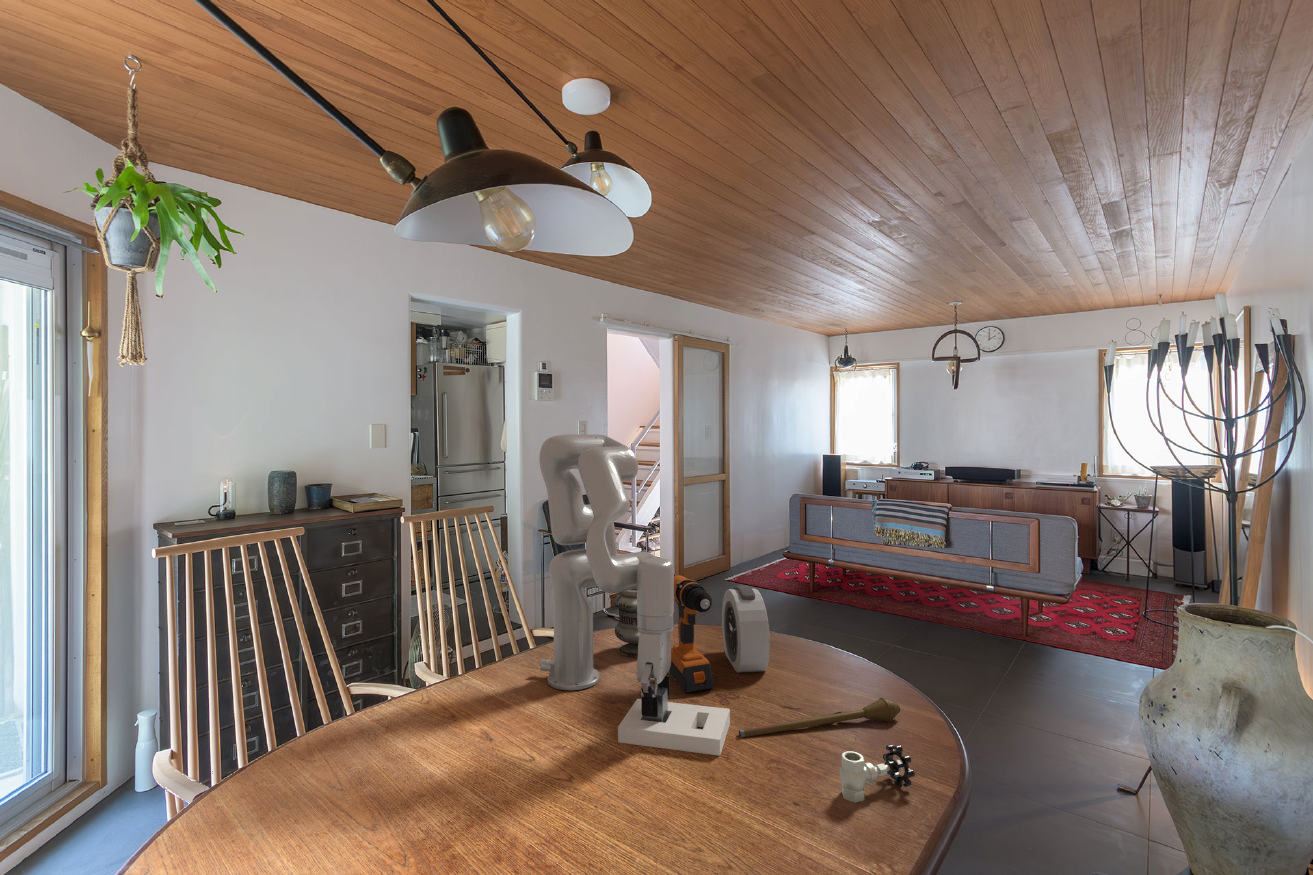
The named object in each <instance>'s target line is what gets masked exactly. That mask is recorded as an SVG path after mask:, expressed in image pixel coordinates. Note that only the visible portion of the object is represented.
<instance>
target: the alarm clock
mask: <svg viewBox="0 0 1313 875" xmlns="http://www.w3.org/2000/svg"><path fill="white" fill-rule="evenodd" d="M764 601H765V600H764V599H763V597H762V594H761V593H760V591H759V590H758V589H756V588H752V587H751V586H750V585H747V584H746V585H734V586H733V588H729V589H726V590H725V593H724V595H723V598H722V607H721V630H722V642H723V646H724V648H723V649H724V655H725V656H726V657H727V659H728V660H729V662H730V664H731V665H732V667H733V669H734V670H735V672H736V673H737V674H738V673H752V672H753V673H754V672H766V671H767V669H768V665H769V662H770V655H771V654H770V653H771V652H770V651H771V640H770V626H769V625H770V624H769V619H768V613H767V609H766V608H767V607H766V605H765V602H764Z"/></svg>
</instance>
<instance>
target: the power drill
mask: <svg viewBox="0 0 1313 875" xmlns="http://www.w3.org/2000/svg"><path fill="white" fill-rule="evenodd" d="M674 602H676V604H677V607H678V627H677V628H678V644H674V645H673V647H671V666H670V675H669V676H670V677H671V678H672V679H673V680H674V681H675V683H676V684H677V685H678V687H679V688H680V689H681V691H682V692H683V693H691V692H696V691H703V690H708V689H713V687H714V677H713V673H712V668H711V663H710V661H709V660H708V658H707V657H705V655H704V654H702V653H701V652H700V651H699V649H697V647H696V646H695V645H694V640H695V625H696V623H697V619H696V615H697V614H699V613H706V612H708V611H710V609H711V608H712V605H713V598H712V597H711V595H710V593H708V592H707V590H706V589H705V588H704V587H703V586H702V585H701V584H700V583H699V582H698V581H697V580H695V579H689V578H687V577H685V576H683V575H679V574H678V575H674Z"/></svg>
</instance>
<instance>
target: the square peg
mask: <svg viewBox="0 0 1313 875" xmlns="http://www.w3.org/2000/svg"><path fill="white" fill-rule="evenodd" d="M651 687H652V690H653V686H651ZM656 696H658V716H657V717H648V716H644V720H646V721H655V722H663V723H666V721H667V719H668V702H669V700H668V697H669V696H668V695H667V688H660V687H657V693H656Z"/></svg>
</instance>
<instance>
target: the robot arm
mask: <svg viewBox="0 0 1313 875" xmlns="http://www.w3.org/2000/svg"><path fill="white" fill-rule="evenodd" d="M538 463H539V468H540V472H541V476H542V478H543V481H544V485H545V488H546V491H547V492H546V493H547V499H548V500H547V502H548V511H549V518H550V521H549V522H550V528H551V535H552V539H553V540H554V542H555V543H556V544H557V545H560V546H573V545H581V544H585V548H580V549H573V550H567V551H563V552H561V553H558V554H556V555H555V556H554V557H552V559H551V560H550V563H549V565H548V575H549V580H550V586H551V591H552V592H551V593H552V601H553V604H552V605H553V659H552V660H550V659H546V658H545V659H543V658H541V659H540V661H539V669H540V671H542V672H546V671H547V672H549V674H548V676H547V683H548V686H550V687H552V688H554V689H556V690H561V691H579V690H584V689H585V690H586V689H588V688H591V687H593V686H595V685H597V684H598V682H599V681H600V680H601V678H600V677H601V675H600V672H599V671H598V670H597V669H596V668H594V611H593V610H594V608H593V604H592V602H591V600H590V599H589V597H588V596H587V595H586V593H585V590H586V589H589V588H593V587H598V589H600V590H601V591H602V592H604V593H606V594H615V593H620V592H622V591H627V590H632V589H637V629H638V630H639V631H640V634H639V643H638V657H637V662H636V663H637V664H636V666H637V668H636V680H637V682H638V683H640V684H641V685H640V686H641V688H640V691H641V694H640V696H641V698H640V699H641V704H642V715H643V716H648V717H657V716H658V696H656V693H657V687H660V688H667V695H668V697H670V694H671V675H670V666H671V648H672V637H671V634H672V633H671V632H672V631H673V630H674V629H675V597H674V576H675V567H674V564H673V562H672V561H670V560H669V559H666V558H664V557H663V558H662V557H657V556H656V555H654V554H653V553H650V552H648V551H636V552H630V553H629V552H627V553H622V554H621V553H620V554H618V548H617V538H616V530H615V529H616V528H615V522H616V521H618V520H619V519H620V518H623V516H625V515H626V514H627V513H628V512H629V510H630V509H631V502H630V500H629V496H628V495H627V491H626V488H625V486H624V482H625V483H626V482H630V481H632V480H633V479H635V478H636V477H637V475H638V471H639V462H638V459H637V456H636V454H635V452H634V451H633V450H632V449H631V448H630V447H628V446H627V445H626V444H623V443H621V442H620V441H617V440H615V439H613V438H612V437H609V436H607V435H604V434H575V433H574V434H573V433H572V434H569V433H567V434H560V435H559V434H557V435H553V436H550V437H548V438H547V439H546V440H545V441H544V442H543V443H542V445H541V447H540V450H539V462H538ZM570 470H578V472H579V476H580V479H581V482H582V484H583V487H584V490H585V493H586V497H587V499H588V502H589V504H585V503H584V497H583V489H582V486H581V483H580V481H579V480H578V479H577V478H576V476H575V474H573V473H572V472H571V471H570ZM651 685H652V686H651ZM652 687H653V690H652Z"/></svg>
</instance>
